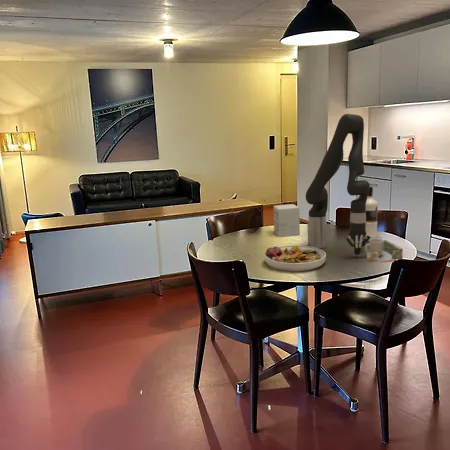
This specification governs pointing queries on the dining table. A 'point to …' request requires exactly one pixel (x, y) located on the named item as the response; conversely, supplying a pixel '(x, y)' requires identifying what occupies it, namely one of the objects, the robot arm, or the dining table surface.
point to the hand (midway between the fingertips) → (357, 254)
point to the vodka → (371, 215)
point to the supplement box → (286, 220)
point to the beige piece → (388, 248)
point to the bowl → (295, 258)
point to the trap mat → (386, 260)
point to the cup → (374, 246)
